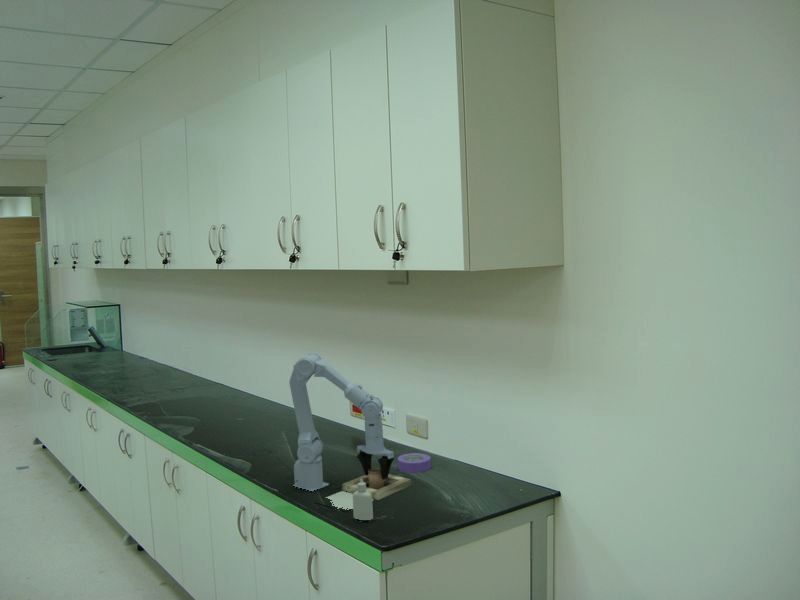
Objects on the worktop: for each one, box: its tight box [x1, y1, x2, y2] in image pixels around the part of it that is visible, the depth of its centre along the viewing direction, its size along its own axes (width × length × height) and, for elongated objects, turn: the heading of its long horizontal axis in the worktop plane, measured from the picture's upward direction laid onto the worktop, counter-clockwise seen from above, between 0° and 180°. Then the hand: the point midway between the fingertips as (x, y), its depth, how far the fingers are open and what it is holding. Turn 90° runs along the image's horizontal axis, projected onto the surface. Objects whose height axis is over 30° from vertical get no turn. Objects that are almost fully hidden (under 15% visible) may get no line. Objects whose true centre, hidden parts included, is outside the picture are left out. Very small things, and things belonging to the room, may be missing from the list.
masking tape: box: [397, 452, 432, 474], centre depth 248 cm, size 12×12×4 cm
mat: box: [325, 490, 375, 510], centre depth 218 cm, size 14×12×1 cm
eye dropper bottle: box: [352, 479, 374, 521], centre depth 202 cm, size 4×6×12 cm
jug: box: [368, 467, 386, 490], centre depth 230 cm, size 5×7×6 cm
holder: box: [341, 473, 412, 501], centre depth 229 cm, size 16×16×2 cm
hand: (376, 476), depth 229 cm, fingers open, 7 cm apart
